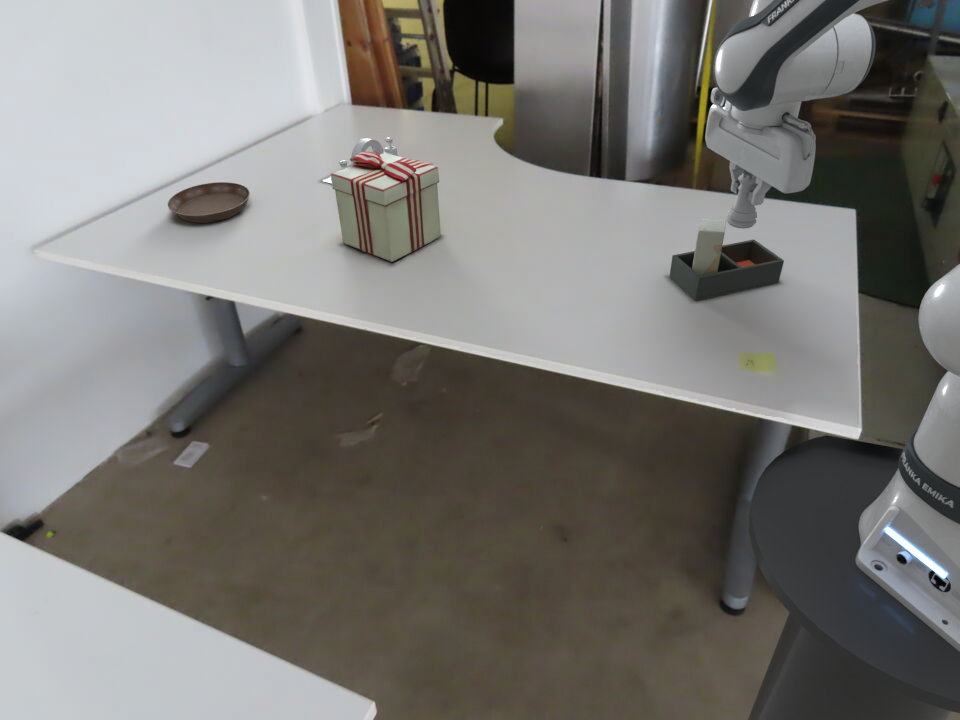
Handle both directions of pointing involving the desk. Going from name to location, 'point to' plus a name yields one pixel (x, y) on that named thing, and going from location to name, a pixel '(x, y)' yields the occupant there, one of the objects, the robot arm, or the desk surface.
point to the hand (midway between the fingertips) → (746, 197)
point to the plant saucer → (209, 201)
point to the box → (708, 246)
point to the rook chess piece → (743, 204)
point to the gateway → (363, 145)
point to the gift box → (387, 204)
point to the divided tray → (728, 270)
